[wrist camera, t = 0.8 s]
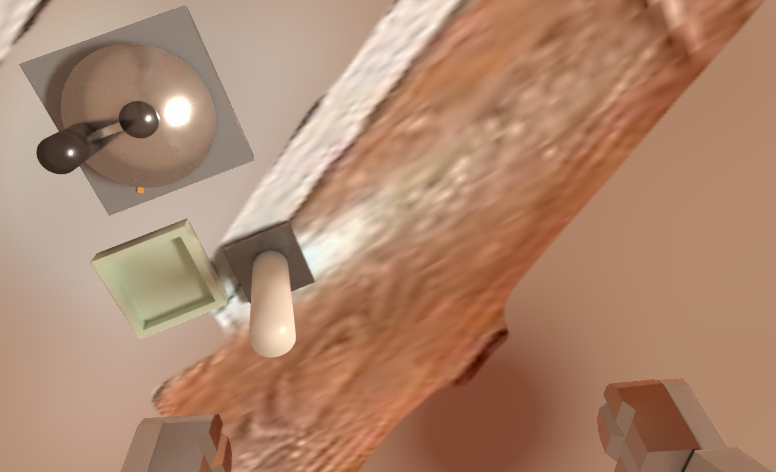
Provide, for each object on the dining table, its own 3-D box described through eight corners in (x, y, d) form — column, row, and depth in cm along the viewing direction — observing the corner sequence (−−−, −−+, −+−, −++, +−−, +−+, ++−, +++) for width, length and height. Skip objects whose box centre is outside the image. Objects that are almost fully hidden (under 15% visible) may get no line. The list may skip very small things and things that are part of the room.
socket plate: (223, 246, 55) (223, 250, 54) (288, 221, 55) (289, 224, 54) (252, 302, 58) (252, 307, 57) (313, 278, 58) (314, 282, 57)
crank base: (28, 62, 45) (18, 64, 44) (187, 6, 47) (183, 5, 45) (114, 208, 51) (108, 216, 49) (254, 155, 52) (253, 160, 50)
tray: (97, 253, 52) (90, 262, 50) (187, 218, 53) (184, 225, 51) (143, 328, 56) (139, 339, 54) (227, 294, 57) (226, 304, 55)
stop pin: (246, 258, 55) (241, 328, 42) (279, 245, 55) (285, 310, 42) (261, 287, 56) (260, 363, 43) (293, 274, 56) (302, 346, 44)
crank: (32, 74, 44) (-11, 82, 37) (177, 22, 45) (162, 20, 38) (108, 204, 49) (83, 233, 42) (238, 155, 50) (235, 175, 43)
